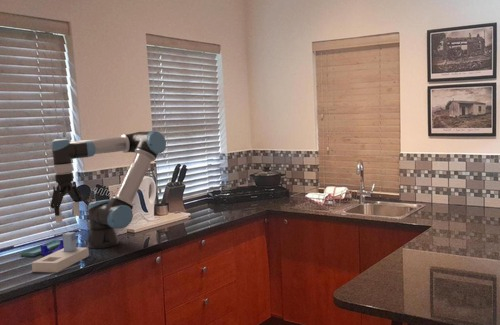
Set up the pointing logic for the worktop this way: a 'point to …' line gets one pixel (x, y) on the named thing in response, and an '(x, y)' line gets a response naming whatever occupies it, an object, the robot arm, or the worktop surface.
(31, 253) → the rectangular tray
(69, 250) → the plug
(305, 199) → the worktop surface
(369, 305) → the worktop surface
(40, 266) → the socket strip
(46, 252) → the blue angular bent piece
